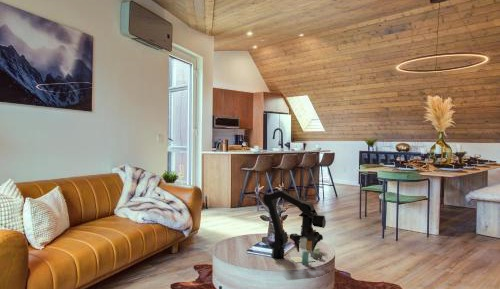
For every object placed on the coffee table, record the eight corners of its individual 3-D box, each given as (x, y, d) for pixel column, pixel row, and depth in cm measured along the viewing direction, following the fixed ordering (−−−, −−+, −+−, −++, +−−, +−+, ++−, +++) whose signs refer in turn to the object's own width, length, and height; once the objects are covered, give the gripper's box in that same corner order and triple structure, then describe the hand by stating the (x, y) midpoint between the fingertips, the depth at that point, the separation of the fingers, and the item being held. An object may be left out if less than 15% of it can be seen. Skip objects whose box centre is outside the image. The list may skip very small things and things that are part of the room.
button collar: (314, 259, 218) (314, 255, 218) (310, 256, 223) (310, 252, 223) (321, 258, 220) (322, 254, 220) (317, 255, 224) (318, 252, 224)
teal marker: (303, 265, 207) (304, 251, 207) (300, 263, 210) (301, 249, 210) (309, 264, 208) (309, 251, 208) (306, 262, 211) (307, 249, 211)
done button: (315, 256, 219) (315, 249, 219) (312, 254, 222) (312, 247, 222) (320, 256, 220) (320, 248, 220) (317, 254, 224) (317, 247, 223)
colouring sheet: (295, 262, 210) (295, 262, 210) (289, 258, 218) (289, 257, 218) (315, 261, 214) (315, 260, 214) (309, 257, 222) (309, 256, 222)
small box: (306, 250, 235) (307, 230, 234) (299, 247, 240) (300, 228, 240) (315, 248, 239) (316, 229, 239) (308, 246, 244) (309, 226, 244)
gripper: (298, 229, 198) (296, 257, 199) (328, 228, 204) (326, 255, 204) (290, 223, 209) (288, 250, 209) (318, 223, 214) (317, 249, 215)
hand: (305, 251), depth 209 cm, fingers open, 9 cm apart
